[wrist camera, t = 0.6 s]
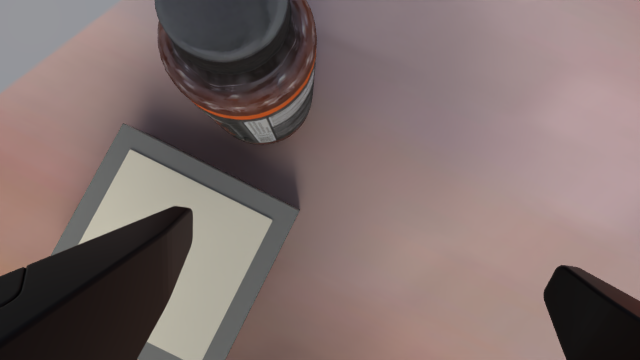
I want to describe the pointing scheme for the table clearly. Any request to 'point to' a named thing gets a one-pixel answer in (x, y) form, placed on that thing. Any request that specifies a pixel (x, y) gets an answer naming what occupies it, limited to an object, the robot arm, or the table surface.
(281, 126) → the supplement bottle
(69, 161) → the table surface
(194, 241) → the plinth
